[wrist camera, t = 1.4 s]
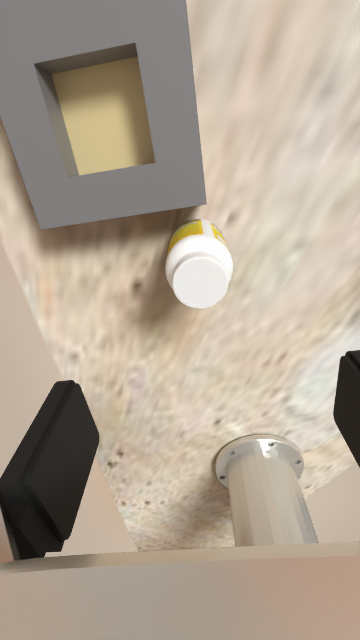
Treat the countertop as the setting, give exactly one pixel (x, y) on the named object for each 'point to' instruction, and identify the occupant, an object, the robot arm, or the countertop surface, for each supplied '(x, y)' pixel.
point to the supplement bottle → (198, 264)
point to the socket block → (100, 107)
